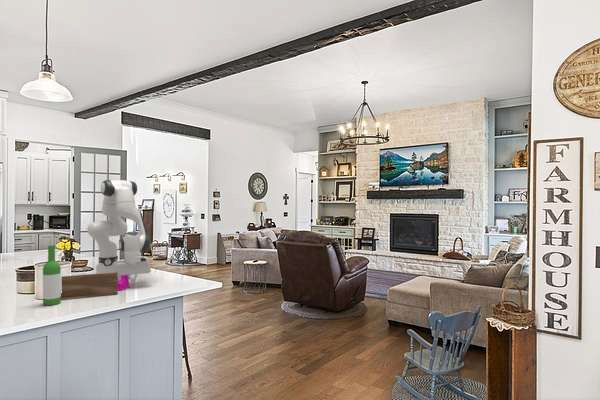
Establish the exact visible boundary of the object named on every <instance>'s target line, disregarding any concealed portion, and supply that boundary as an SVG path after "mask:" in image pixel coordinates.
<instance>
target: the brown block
mask: <svg viewBox="0 0 600 400" xmlns="http://www.w3.org/2000/svg"><path fill="white" fill-rule="evenodd" d="M117 278H118V277H117V272H114V273H101V274H96V273H89V274H77V275H64V276H62V275H61V291H62V293H61V301H66V300H68V299H69V300H76V299H77V300H79V299H86V298H96V297H97V298H98V297H108V296H117V295H119V294H118V292H119V291H118V283H117Z"/></svg>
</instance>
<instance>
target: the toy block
mask: <svg viewBox="0 0 600 400" xmlns="http://www.w3.org/2000/svg"><path fill="white" fill-rule="evenodd" d="M117 283H118V292H122V291H124V290H126V289H128V288H130V279H129V277H128V275H121V276H120V279H119V277H117Z"/></svg>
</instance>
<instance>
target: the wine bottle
mask: <svg viewBox="0 0 600 400" xmlns="http://www.w3.org/2000/svg"><path fill="white" fill-rule="evenodd" d="M47 250H48V251H47V254H48V255H47V258H48V259H47V262H45V263H44V264H43V267H42V304H43V305H44V306H55V304H56V305H59V304H60V303H61V302H62V300H61V291H62V286H61V277H62V274H61V273H62V272H61V271H62V270H61V268H62V267H61V264H60V263H59V262H58V261H57V260H56V245H55V244H50V245H48V246H47Z"/></svg>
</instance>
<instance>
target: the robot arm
mask: <svg viewBox="0 0 600 400" xmlns="http://www.w3.org/2000/svg"><path fill="white" fill-rule="evenodd" d="M100 192H101V194H102V195H103V196H104V197H103V200H102V206H101V212H102V214H103V215H104V216H105V217H107V218H108V220H98V221H92V222H90V223H89V224H88V225H87V233H88V235H89V236H90V237H92V238H93V239H94V240H95V241H96V243H97V245H98V253H99V255H98V256H99V257H98V264H97V265H96V266H95V274H101V273H114V272H117V278H119V277H120V278H121V275H128V277H129V283H135V282H136V278H137V277H138V275H143V274H144V275H145V274H150V273H151V270H152V269H151V263H150V262H149V257H148V256H146V255H141V252H147V251H148V250H149V249H150V248H151V246H152V245H151V244H152V242H151V239H150V236H149V233H148V229H147V226H146V224H145V223H146V222H145V219H144V216H143V213H142V212H141V211H140V210H138V207H136V199H135V196H136V194H137V192H138V185H137V183H136V182H135V181H131V180H123V179H105V180H103V181H102V183H101V184H100ZM123 218H124V219H127V220H130V221H132V222H134V223H136V226H137V228H138V232H137V231H128V225H127V223H126V221H125V220H123ZM127 231H128V232H127ZM122 235H124V236H123V237H121V238H120V239H119V240H118V245H117V243H115V242H113V241H112V240H110V237H117V236H122ZM118 250H119V251H121V253H122V252H123V253H124V259H119V255H118ZM132 275H134V277H133V278H132V277H131V276H132Z"/></svg>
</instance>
